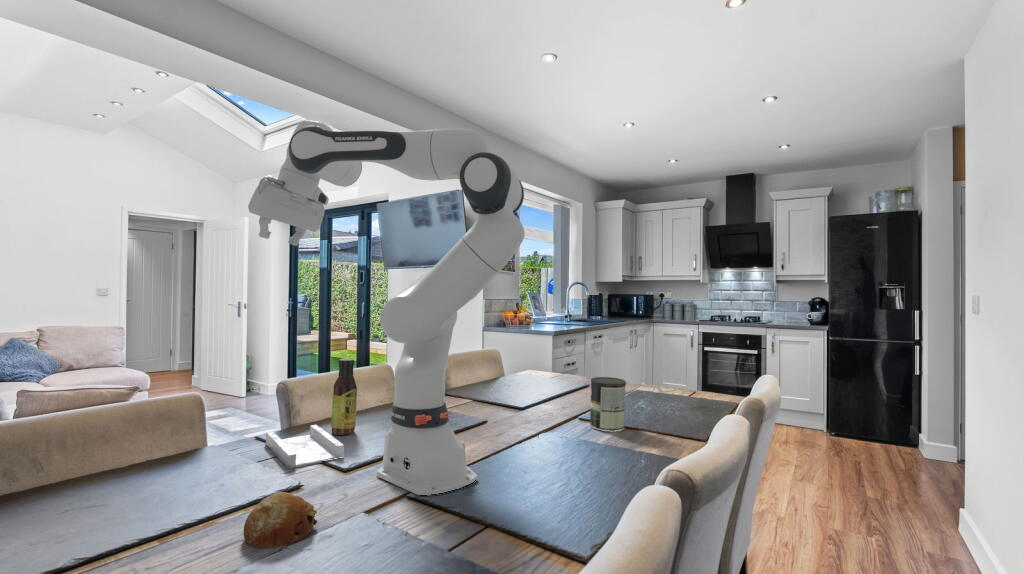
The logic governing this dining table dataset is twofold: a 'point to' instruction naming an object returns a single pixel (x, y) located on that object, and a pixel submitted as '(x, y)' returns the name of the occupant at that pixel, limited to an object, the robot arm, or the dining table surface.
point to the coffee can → (607, 403)
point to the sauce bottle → (344, 400)
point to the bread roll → (279, 521)
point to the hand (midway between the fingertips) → (278, 241)
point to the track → (305, 448)
